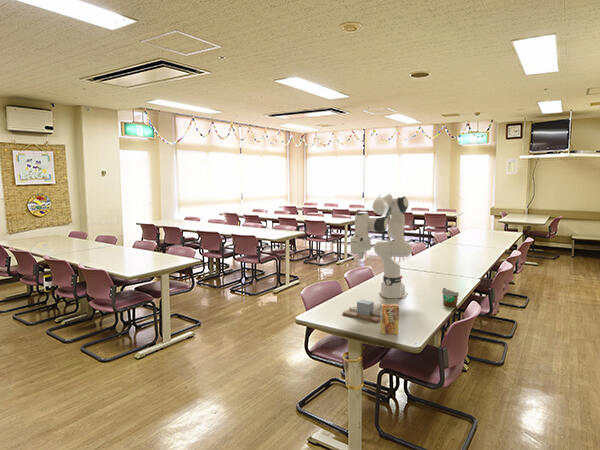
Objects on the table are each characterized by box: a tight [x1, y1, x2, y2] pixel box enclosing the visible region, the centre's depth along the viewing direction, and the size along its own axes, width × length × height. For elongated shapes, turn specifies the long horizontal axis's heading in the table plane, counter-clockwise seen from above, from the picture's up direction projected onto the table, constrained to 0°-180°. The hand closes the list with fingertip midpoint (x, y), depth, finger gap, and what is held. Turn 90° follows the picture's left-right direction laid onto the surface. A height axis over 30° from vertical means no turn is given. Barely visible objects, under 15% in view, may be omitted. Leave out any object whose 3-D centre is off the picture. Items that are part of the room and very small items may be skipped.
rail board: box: [342, 306, 381, 324], centre depth 234 cm, size 14×23×3 cm, turn 52°
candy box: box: [379, 303, 400, 335], centre depth 207 cm, size 9×4×15 cm, turn 93°
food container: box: [441, 287, 460, 308], centre depth 253 cm, size 12×6×10 cm, turn 21°
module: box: [356, 299, 375, 316], centre depth 234 cm, size 6×8×7 cm
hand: (361, 258), depth 248 cm, fingers closed
